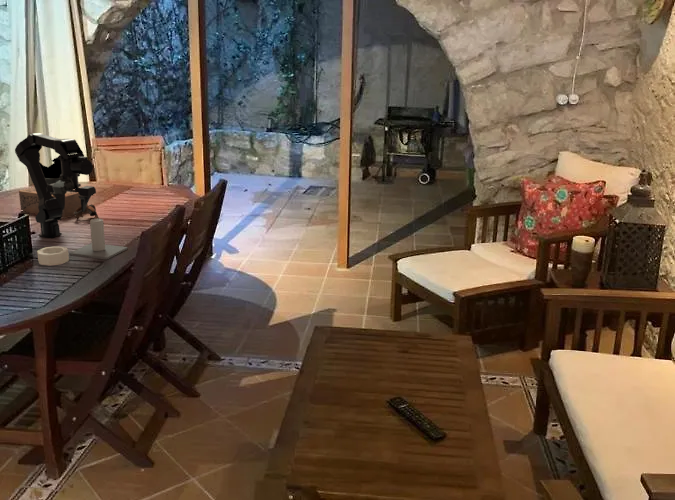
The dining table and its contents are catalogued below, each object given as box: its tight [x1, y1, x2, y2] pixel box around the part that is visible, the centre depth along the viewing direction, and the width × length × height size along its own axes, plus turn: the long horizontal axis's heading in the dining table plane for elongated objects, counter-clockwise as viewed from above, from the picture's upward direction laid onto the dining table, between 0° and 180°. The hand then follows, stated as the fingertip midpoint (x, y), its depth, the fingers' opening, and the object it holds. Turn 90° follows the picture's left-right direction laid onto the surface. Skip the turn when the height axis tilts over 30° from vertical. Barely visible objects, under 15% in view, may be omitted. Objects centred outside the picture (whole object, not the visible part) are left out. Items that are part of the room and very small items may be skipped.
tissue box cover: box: [18, 187, 81, 219], centre depth 316 cm, size 26×14×10 cm, turn 68°
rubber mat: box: [69, 242, 128, 260], centre depth 261 cm, size 16×14×1 cm
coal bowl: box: [39, 157, 62, 185], centre depth 347 cm, size 20×20×19 cm
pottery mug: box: [74, 204, 100, 220], centre depth 305 cm, size 12×10×8 cm
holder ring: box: [36, 245, 70, 267], centre depth 249 cm, size 10×10×4 cm
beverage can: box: [89, 218, 106, 252], centre depth 259 cm, size 5×5×12 cm
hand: (73, 210), depth 268 cm, fingers open, 9 cm apart
